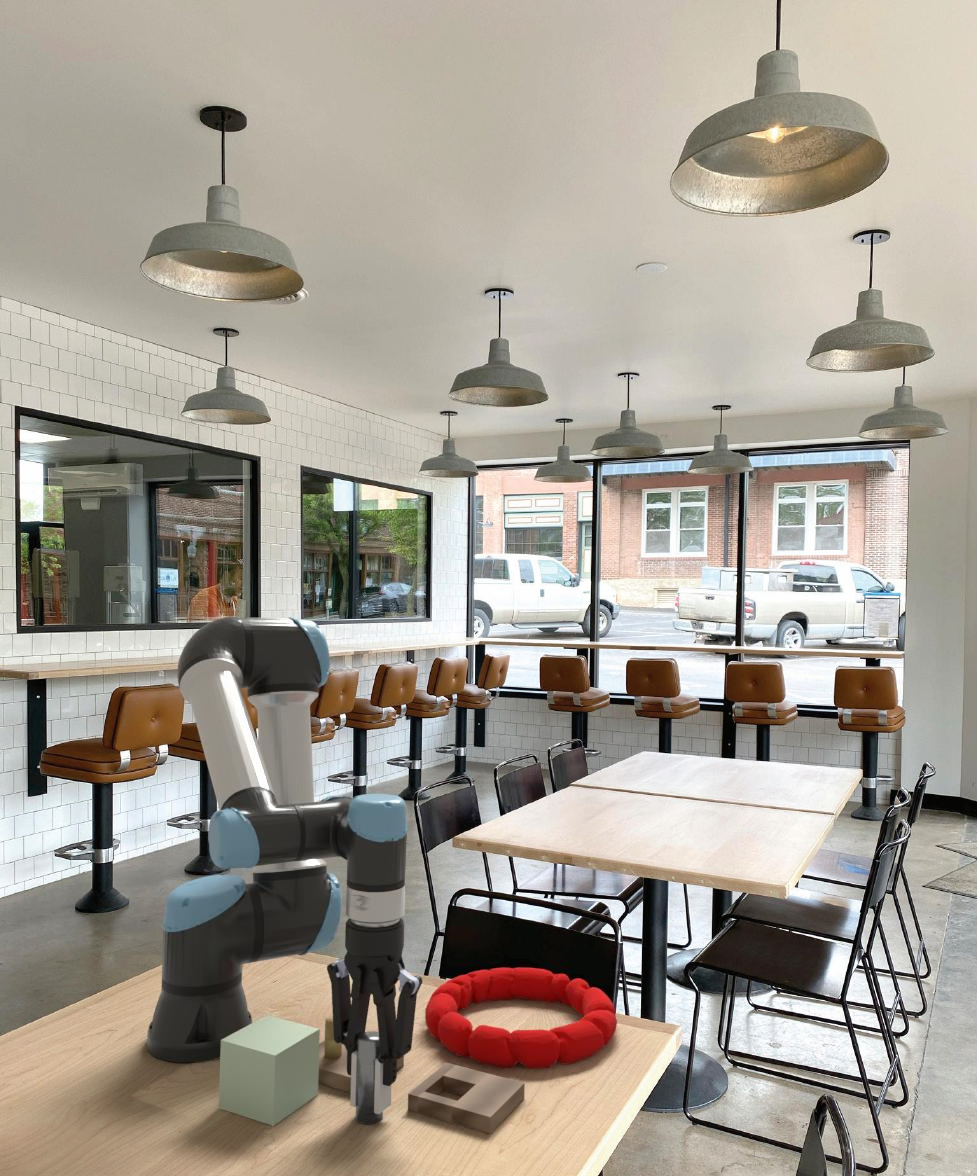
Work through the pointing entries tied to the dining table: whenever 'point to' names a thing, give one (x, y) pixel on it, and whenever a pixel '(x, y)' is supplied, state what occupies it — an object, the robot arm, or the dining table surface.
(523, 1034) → the decorative ring
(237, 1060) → the pale green cube
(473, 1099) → the square hole block
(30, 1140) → the dining table surface
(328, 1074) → the board
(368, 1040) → the peg
